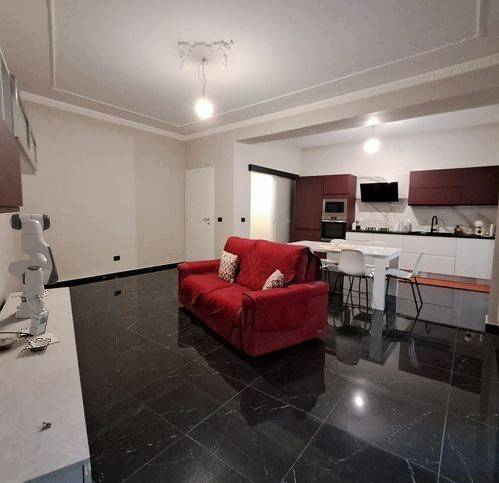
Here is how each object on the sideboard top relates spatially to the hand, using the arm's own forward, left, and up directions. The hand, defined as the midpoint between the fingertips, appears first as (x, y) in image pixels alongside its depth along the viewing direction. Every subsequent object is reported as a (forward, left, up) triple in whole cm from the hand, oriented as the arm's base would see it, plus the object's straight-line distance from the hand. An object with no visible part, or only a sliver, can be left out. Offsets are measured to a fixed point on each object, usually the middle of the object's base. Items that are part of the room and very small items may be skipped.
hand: (35, 316), depth 174 cm
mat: (+15, 0, -10) cm, 18 cm away
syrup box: (+3, 0, -10) cm, 10 cm away
